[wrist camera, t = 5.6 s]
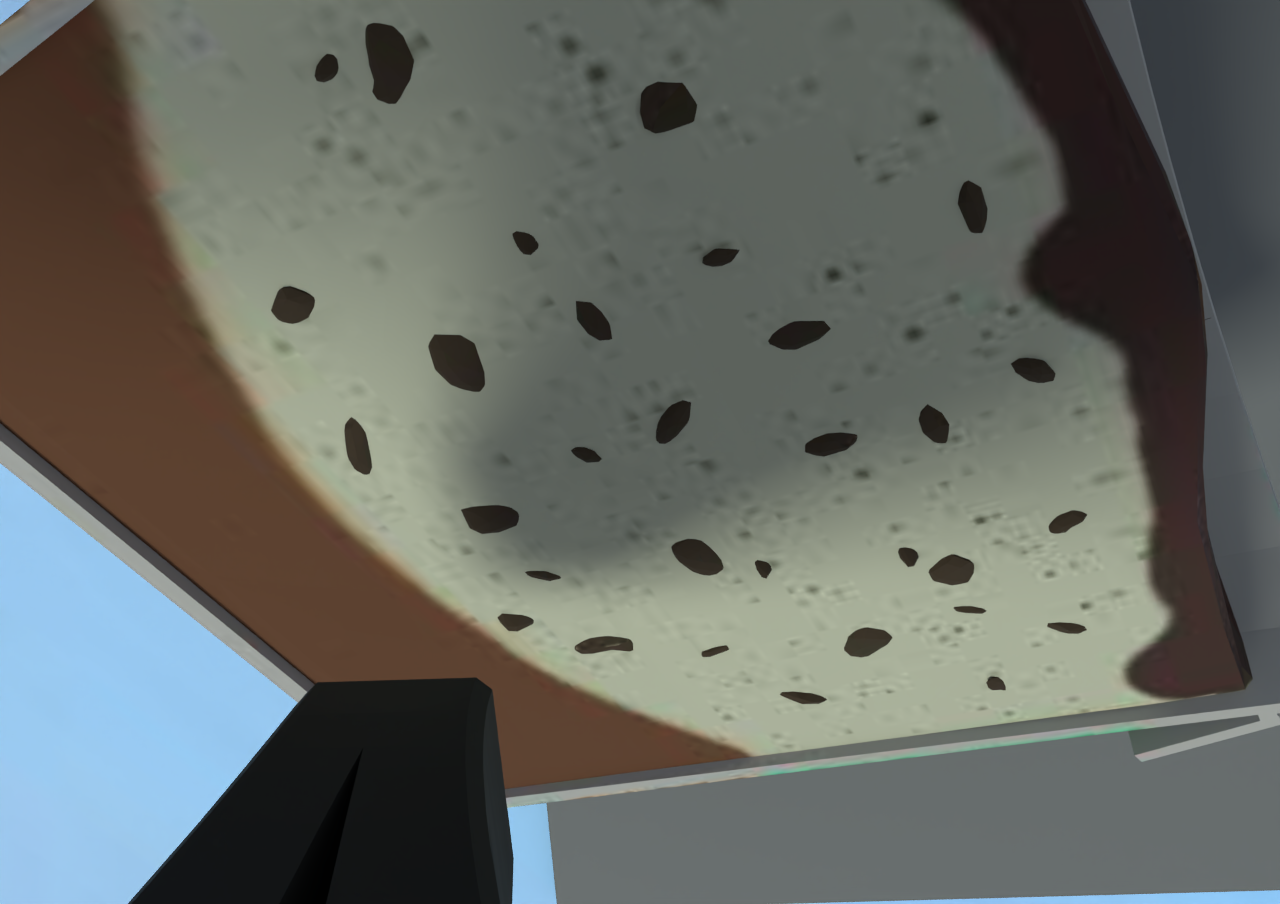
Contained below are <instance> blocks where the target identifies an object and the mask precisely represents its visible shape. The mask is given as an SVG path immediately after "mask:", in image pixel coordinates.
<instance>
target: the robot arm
mask: <svg viewBox="0 0 1280 904" xmlns="http://www.w3.org/2000/svg"><path fill="white" fill-rule="evenodd" d="M512 887H513V851H512V843H511V835H510V827H509V819H508V811H507V803H506V795H505V787H504V779H503V771H502V763H501V755H500V747H499V739H498V731H497V722H496V714H495V706H494V698H493V690H492V689H491V688H490V687H488V686H487V685H486V684H484V683H483V682H482V681H481V680H479V679H478V678H477V677H474V678H441V679H409V680H376V681H343V682H317V683H316V684H315V685H314V686H313V687H312V688H311V689H310V690H309V691H308V692H307V693H306V694H305V695H304V696H303V698H302V699H301V700H300V701H299V702H298V704H297V705H296V706H295V707H294V708H293V710H292V711H291V712H290V713H289V714H288V716H287V717H286V718H285V719H284V720H283V722H282V723H281V724H280V725H279V727H278V728H277V729H276V730H275V731H274V733H273V734H272V735H271V736H270V738H269V739H268V740H267V741H266V743H265V744H264V745H263V746H262V747H261V749H260V750H259V751H258V752H257V754H256V755H255V756H254V757H253V758H252V760H251V761H250V762H249V763H248V764H247V766H246V767H245V768H244V769H243V771H242V772H241V773H240V774H239V775H238V777H237V778H236V779H235V780H234V781H233V783H232V784H231V785H230V786H229V787H228V789H227V790H226V791H225V792H224V793H223V795H222V796H221V797H220V798H219V799H218V801H217V802H216V803H215V804H214V805H213V806H212V808H211V809H210V810H209V811H208V812H207V814H206V815H205V816H204V817H203V818H202V820H201V821H200V822H199V823H198V824H197V825H196V827H195V828H194V829H193V830H192V831H191V832H190V833H189V835H188V836H187V837H186V838H185V839H184V840H183V841H182V843H181V844H180V845H179V846H178V847H177V848H176V849H175V851H174V852H173V853H172V854H171V855H170V856H169V857H168V859H167V860H166V861H165V862H164V863H163V864H162V865H161V867H160V868H159V869H158V870H157V871H156V872H155V873H154V875H153V876H152V877H151V878H150V879H149V880H148V881H147V883H146V884H145V885H144V886H143V887H142V888H141V889H140V891H139V892H138V893H137V894H136V895H135V896H134V897H133V899H132V900H131V901H130V902H129V903H128V904H512Z"/></svg>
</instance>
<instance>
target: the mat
mask: <svg viewBox="0 0 1280 904" xmlns="http://www.w3.org/2000/svg"><path fill="white" fill-rule="evenodd" d="M1130 2H1131V7H1132V11H1133V15H1134V19H1135V23H1136V27H1137V31H1138V35H1139V39H1140V43H1141V47H1142V51H1143V55H1144V59H1145V63H1146V67H1147V71H1148V75H1149V79H1150V83H1151V87H1152V91H1153V95H1154V98H1155V102H1156V106H1157V110H1158V113H1159V117H1160V121H1161V125H1162V128H1163V132H1164V136H1165V140H1166V143H1167V147H1168V151H1169V155H1170V158H1171V162H1172V166H1173V169H1174V173H1175V176H1176V180H1177V183H1178V187H1179V191H1180V194H1181V198H1182V201H1183V205H1184V208H1185V212H1186V215H1187V219H1188V222H1189V226H1190V229H1191V233H1192V236H1193V240H1194V243H1195V247H1196V250H1197V253H1198V257H1199V260H1200V263H1201V267H1202V270H1203V273H1204V277H1205V280H1206V283H1207V287H1208V290H1209V293H1210V297H1211V300H1212V303H1213V306H1214V310H1215V313H1216V316H1217V320H1218V323H1219V326H1220V329H1221V332H1222V335H1223V338H1224V342H1225V345H1226V348H1227V351H1228V354H1229V357H1230V361H1231V364H1232V367H1233V370H1234V373H1235V376H1236V379H1237V383H1238V386H1239V389H1240V392H1241V395H1242V398H1243V401H1244V404H1245V407H1246V410H1247V413H1248V416H1249V419H1250V422H1251V425H1252V428H1253V431H1254V434H1255V437H1256V440H1257V443H1258V446H1259V449H1260V452H1261V455H1262V458H1263V461H1264V464H1265V467H1266V469H1267V472H1268V475H1269V478H1270V481H1271V484H1272V486H1273V489H1274V492H1275V495H1276V498H1277V501H1278V503H1279V506H1280V0H1130ZM1278 714H1279V717H1280V713H1278ZM547 811H548V821H549V831H550V840H551V850H552V860H553V870H554V880H555V889H556V899H557V904H790V903H826V902H863V901H899V900H936V899H972V898H1009V897H1045V896H1082V895H1118V894H1155V893H1191V892H1228V891H1264V890H1280V725H1278V726H1274V727H1270V728H1266V729H1263V730H1259V731H1255V732H1252V733H1248V734H1244V735H1240V736H1237V737H1233V738H1229V739H1225V740H1222V741H1218V742H1214V743H1211V744H1207V745H1203V746H1199V747H1196V748H1192V749H1188V750H1184V751H1181V752H1177V753H1173V754H1169V755H1166V756H1162V757H1158V758H1155V759H1151V760H1147V761H1143V762H1141V761H1140V760H1139V759H1138V758H1137V757H1136V756H1134V752H1133V748H1132V744H1131V740H1130V736H1129V732H1128V731H1123V732H1115V733H1107V734H1099V735H1091V736H1083V737H1075V738H1067V739H1058V740H1050V741H1042V742H1034V743H1026V744H1018V745H1010V746H1002V747H994V748H986V749H978V750H969V751H961V752H953V753H945V754H937V755H929V756H921V757H913V758H905V759H897V760H889V761H881V762H872V763H864V764H856V765H848V766H840V767H832V768H824V769H816V770H808V771H800V772H792V773H783V774H775V775H767V776H759V777H751V778H743V779H735V780H727V781H719V782H711V783H703V784H694V785H686V786H678V787H670V788H662V789H654V790H646V791H638V792H630V793H622V794H614V795H606V796H597V797H589V798H581V799H573V800H565V801H557V802H549V803H547Z"/></svg>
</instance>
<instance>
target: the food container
mask: <svg viewBox="0 0 1280 904" xmlns="http://www.w3.org/2000/svg"><path fill="white" fill-rule="evenodd" d="M0 463H1V464H2V465H3V466H4V467H6V468H7V469H8V470H9V471H11V472H12V473H13V474H14V475H16V476H17V477H18V478H19V479H21V480H22V481H23V482H24V483H26V484H27V485H28V486H29V487H31V488H32V489H33V490H34V491H35V492H37V493H38V494H39V495H40V496H42V497H43V498H44V499H45V500H47V501H48V502H49V503H50V504H52V505H53V506H54V507H55V508H57V509H58V510H59V511H60V512H62V513H63V514H64V515H65V516H67V517H68V518H69V519H70V520H72V521H73V522H74V523H75V524H77V525H78V526H79V527H80V528H82V529H83V530H84V531H85V532H86V533H88V534H89V535H90V536H91V537H93V538H94V539H95V540H96V541H98V542H99V543H100V544H101V545H103V546H104V547H105V548H106V549H108V550H109V551H110V552H111V553H113V554H114V555H115V556H116V557H118V558H119V559H120V560H121V561H123V562H124V563H125V564H126V565H128V566H129V567H130V568H131V569H132V570H134V571H135V572H136V573H137V574H139V575H140V576H141V577H142V578H144V579H145V580H146V581H147V582H149V583H150V584H151V585H152V586H154V587H155V588H156V589H157V590H159V591H160V592H161V593H162V594H164V595H165V596H166V597H167V598H169V599H170V600H171V601H172V602H174V603H175V604H176V605H177V606H179V607H180V608H181V609H182V610H183V611H185V612H186V613H187V614H188V615H190V616H191V617H192V618H193V619H195V620H196V621H197V622H198V623H200V624H201V625H202V626H203V627H205V628H206V629H207V630H208V631H210V632H211V633H212V634H213V635H215V636H216V637H217V638H218V639H220V640H221V641H222V642H223V643H225V644H226V645H227V646H228V647H229V648H231V649H232V650H233V651H234V652H236V653H237V654H238V655H239V656H241V657H242V658H243V659H244V660H246V661H247V662H248V663H249V664H251V665H252V666H253V667H254V668H256V669H257V670H258V671H259V672H261V673H262V674H263V675H264V676H266V677H267V678H268V679H269V680H271V681H272V682H273V683H274V684H275V685H277V686H278V687H279V688H280V689H282V690H283V691H284V692H285V693H287V694H288V695H289V696H290V697H292V698H293V699H294V700H295V701H297V702H299V701H300V700H301V699H302V698H303V696H304V695H305V694H306V693H307V692H308V691H309V690H310V689H311V688H312V687H313V686H314V685H315V684H316V683H317V682H343V681H376V680H409V679H441V678H474V677H477V678H478V679H479V680H481V681H482V682H483V683H484V684H486V685H487V686H488V687H490V688H491V689H492V690H493V698H494V706H495V714H496V722H497V731H498V739H499V747H500V755H501V763H502V771H503V779H504V787H505V795H506V803H507V808H508V807H517V806H525V805H533V804H541V803H549V802H557V801H565V800H573V799H581V798H589V797H597V796H606V795H614V794H622V793H630V792H638V791H646V790H654V789H662V788H670V787H678V786H686V785H694V784H703V783H711V782H719V781H727V780H735V779H743V778H751V777H759V776H767V775H775V774H783V773H792V772H800V771H808V770H816V769H824V768H832V767H840V766H848V765H856V764H864V763H872V762H881V761H889V760H897V759H905V758H913V757H921V756H929V755H937V754H945V753H953V752H961V751H969V750H978V749H986V748H994V747H1002V746H1010V745H1018V744H1026V743H1034V742H1042V741H1050V740H1058V739H1067V738H1075V737H1083V736H1091V735H1099V734H1107V733H1115V732H1123V731H1128V732H1129V736H1130V740H1131V744H1132V748H1133V752H1134V756H1136V757H1137V758H1138V759H1139V760H1140V761H1141V762H1143V761H1147V760H1151V759H1155V758H1158V757H1162V756H1166V755H1169V754H1173V753H1177V752H1181V751H1184V750H1188V749H1192V748H1196V747H1199V746H1203V745H1207V744H1211V743H1214V742H1218V741H1222V740H1225V739H1229V738H1233V737H1237V736H1240V735H1244V734H1248V733H1252V732H1255V731H1259V730H1263V729H1266V728H1270V727H1274V726H1278V725H1280V717H1279V714H1278V713H1280V506H1279V503H1278V501H1277V498H1276V495H1275V492H1274V489H1273V486H1272V484H1271V481H1270V478H1269V475H1268V472H1267V469H1266V467H1265V464H1264V461H1263V458H1262V455H1261V452H1260V449H1259V446H1258V443H1257V440H1256V437H1255V434H1254V431H1253V428H1252V425H1251V422H1250V419H1249V416H1248V413H1247V410H1246V407H1245V404H1244V401H1243V398H1242V395H1241V392H1240V389H1239V386H1238V383H1237V379H1236V376H1235V373H1234V370H1233V367H1232V364H1231V361H1230V357H1229V354H1228V351H1227V348H1226V345H1225V342H1224V338H1223V335H1222V332H1221V329H1220V326H1219V323H1218V320H1217V316H1216V313H1215V310H1214V306H1213V303H1212V300H1211V297H1210V293H1209V290H1208V287H1207V283H1206V280H1205V277H1204V273H1203V270H1202V267H1201V263H1200V260H1199V257H1198V253H1197V250H1196V247H1195V243H1194V240H1193V236H1192V233H1191V229H1190V226H1189V222H1188V219H1187V215H1186V212H1185V208H1184V205H1183V201H1182V198H1181V194H1180V191H1179V187H1178V183H1177V180H1176V176H1175V173H1174V169H1173V166H1172V162H1171V158H1170V155H1169V151H1168V147H1167V143H1166V140H1165V136H1164V132H1163V128H1162V125H1161V121H1160V117H1159V113H1158V110H1157V106H1156V102H1155V98H1154V95H1153V91H1152V87H1151V83H1150V79H1149V75H1148V71H1147V67H1146V63H1145V59H1144V55H1143V51H1142V47H1141V43H1140V39H1139V35H1138V31H1137V27H1136V23H1135V19H1134V15H1133V11H1132V7H1131V2H1130V0H30V1H29V2H27V3H26V4H25V5H24V6H23V7H21V8H20V9H19V10H18V11H16V12H15V13H14V14H13V15H12V16H10V17H9V18H8V19H7V20H5V21H4V22H3V23H2V24H0Z"/></svg>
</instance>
